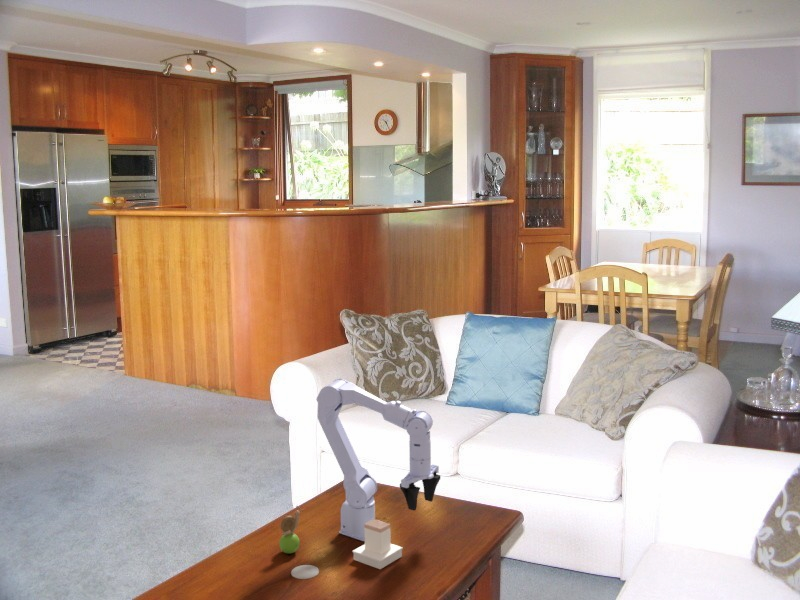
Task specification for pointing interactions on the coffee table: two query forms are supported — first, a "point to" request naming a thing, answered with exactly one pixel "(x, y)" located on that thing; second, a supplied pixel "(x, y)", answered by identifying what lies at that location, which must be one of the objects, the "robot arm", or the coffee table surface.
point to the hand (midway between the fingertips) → (420, 504)
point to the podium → (377, 556)
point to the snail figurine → (289, 533)
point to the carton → (377, 536)
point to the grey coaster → (305, 571)
